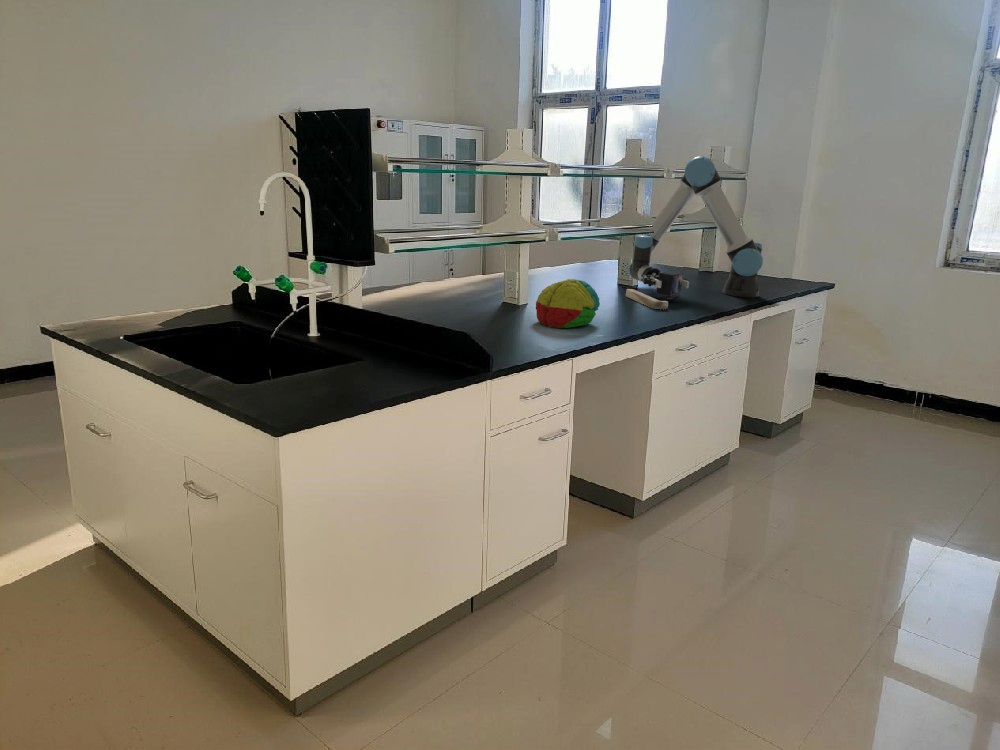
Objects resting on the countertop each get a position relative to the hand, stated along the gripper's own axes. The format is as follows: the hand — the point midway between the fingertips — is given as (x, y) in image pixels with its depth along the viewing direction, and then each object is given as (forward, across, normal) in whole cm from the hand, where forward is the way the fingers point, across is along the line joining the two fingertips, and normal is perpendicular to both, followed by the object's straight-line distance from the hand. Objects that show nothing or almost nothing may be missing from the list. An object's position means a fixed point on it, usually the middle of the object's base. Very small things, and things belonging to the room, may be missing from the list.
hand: (674, 284), depth 288 cm
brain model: (+34, +57, -8) cm, 67 cm away
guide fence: (-1, +11, -7) cm, 14 cm away
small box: (-4, 0, -6) cm, 7 cm away
